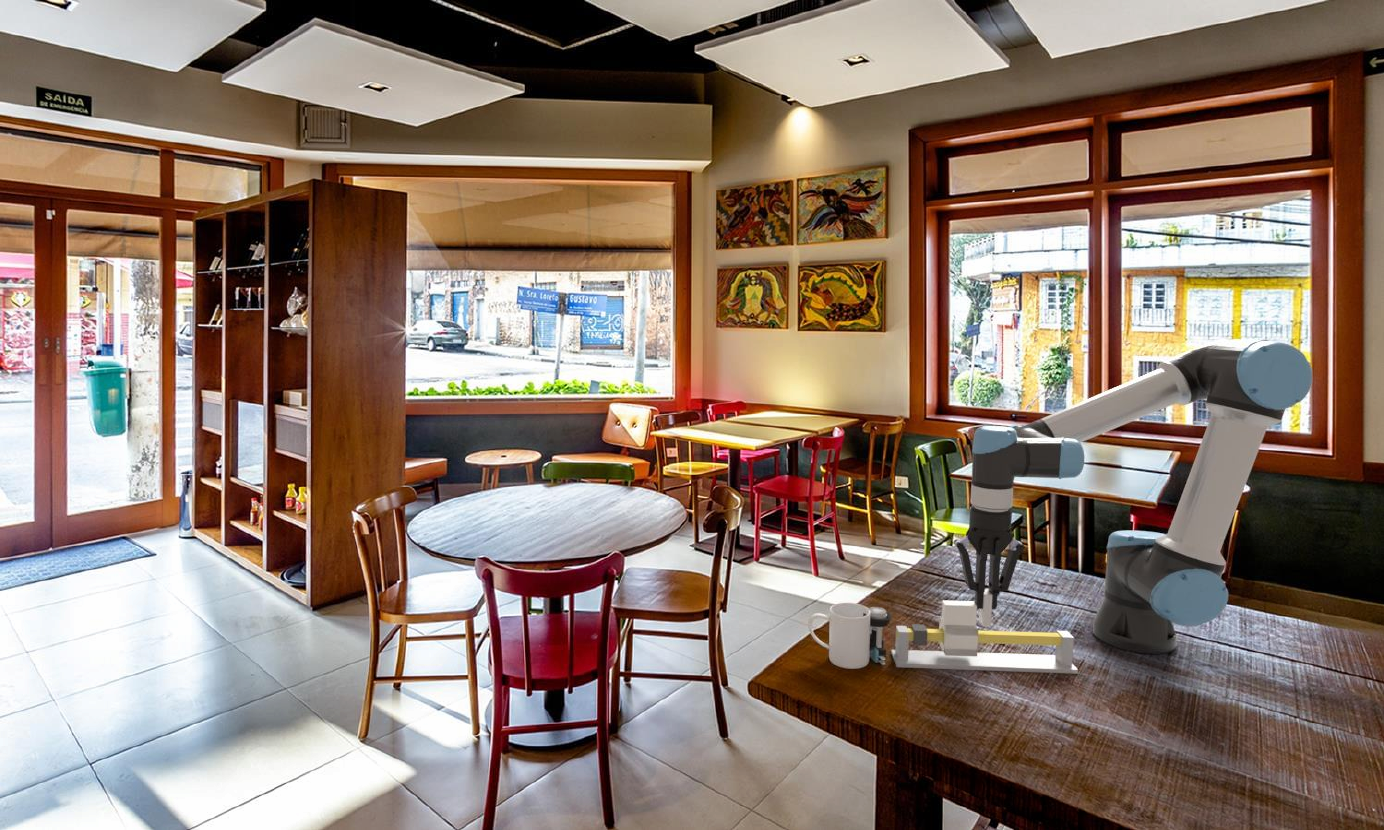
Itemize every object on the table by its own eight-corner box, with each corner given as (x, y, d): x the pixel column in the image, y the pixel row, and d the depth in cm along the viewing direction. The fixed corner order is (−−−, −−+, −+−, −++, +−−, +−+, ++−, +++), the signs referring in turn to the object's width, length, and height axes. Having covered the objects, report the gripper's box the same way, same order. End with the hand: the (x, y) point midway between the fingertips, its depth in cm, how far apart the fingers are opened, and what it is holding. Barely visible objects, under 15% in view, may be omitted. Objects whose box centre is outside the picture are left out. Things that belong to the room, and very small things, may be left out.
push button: (896, 666, 146) (898, 617, 144) (870, 667, 145) (872, 619, 143) (882, 650, 152) (884, 604, 151) (857, 652, 151) (859, 605, 150)
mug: (863, 650, 152) (864, 601, 151) (873, 668, 144) (875, 617, 143) (804, 652, 152) (805, 603, 150) (812, 670, 144) (812, 619, 143)
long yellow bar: (1061, 643, 146) (1062, 628, 145) (1067, 650, 143) (1068, 635, 142) (895, 637, 149) (896, 623, 148) (898, 644, 146) (898, 629, 146)
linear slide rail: (1065, 659, 148) (1067, 627, 147) (1077, 673, 142) (1079, 640, 141) (891, 653, 151) (892, 622, 150) (896, 667, 145) (897, 635, 144)
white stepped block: (969, 643, 149) (971, 598, 148) (977, 656, 143) (979, 609, 142) (938, 642, 149) (940, 597, 148) (945, 655, 144) (947, 608, 143)
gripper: (1019, 502, 145) (1012, 617, 148) (951, 501, 146) (946, 614, 150) (1033, 512, 138) (1025, 633, 141) (961, 511, 139) (955, 630, 142)
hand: (984, 623), depth 145 cm, fingers closed
